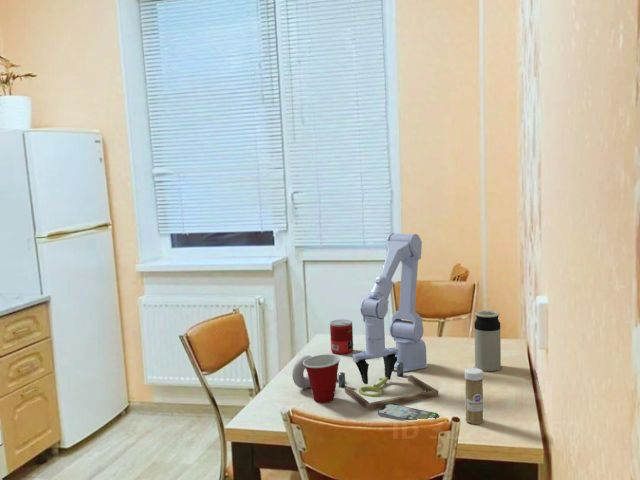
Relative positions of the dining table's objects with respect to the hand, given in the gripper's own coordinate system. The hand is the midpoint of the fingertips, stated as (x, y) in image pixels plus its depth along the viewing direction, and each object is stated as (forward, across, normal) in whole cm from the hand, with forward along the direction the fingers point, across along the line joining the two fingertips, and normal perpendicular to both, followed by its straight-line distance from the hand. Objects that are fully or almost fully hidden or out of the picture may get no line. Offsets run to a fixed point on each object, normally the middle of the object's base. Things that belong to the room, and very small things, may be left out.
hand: (376, 381), depth 185 cm
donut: (+1, +20, -8) cm, 21 cm away
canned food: (+1, -4, -35) cm, 36 cm away
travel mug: (+1, -38, +4) cm, 38 cm away
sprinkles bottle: (+1, -10, +36) cm, 37 cm away
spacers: (+1, 0, -6) cm, 6 cm away
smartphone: (+2, +3, +24) cm, 25 cm away
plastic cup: (+1, +19, +3) cm, 19 cm away
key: (+2, +2, +4) cm, 5 cm away
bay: (+1, 0, +9) cm, 9 cm away
